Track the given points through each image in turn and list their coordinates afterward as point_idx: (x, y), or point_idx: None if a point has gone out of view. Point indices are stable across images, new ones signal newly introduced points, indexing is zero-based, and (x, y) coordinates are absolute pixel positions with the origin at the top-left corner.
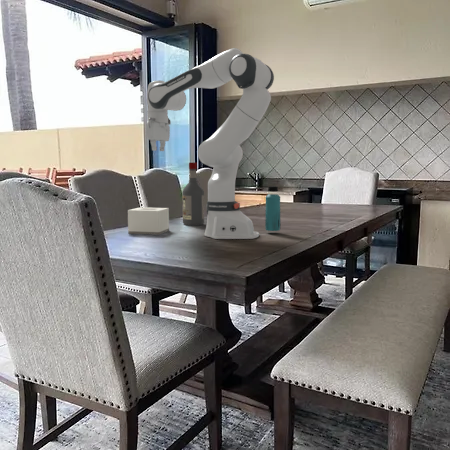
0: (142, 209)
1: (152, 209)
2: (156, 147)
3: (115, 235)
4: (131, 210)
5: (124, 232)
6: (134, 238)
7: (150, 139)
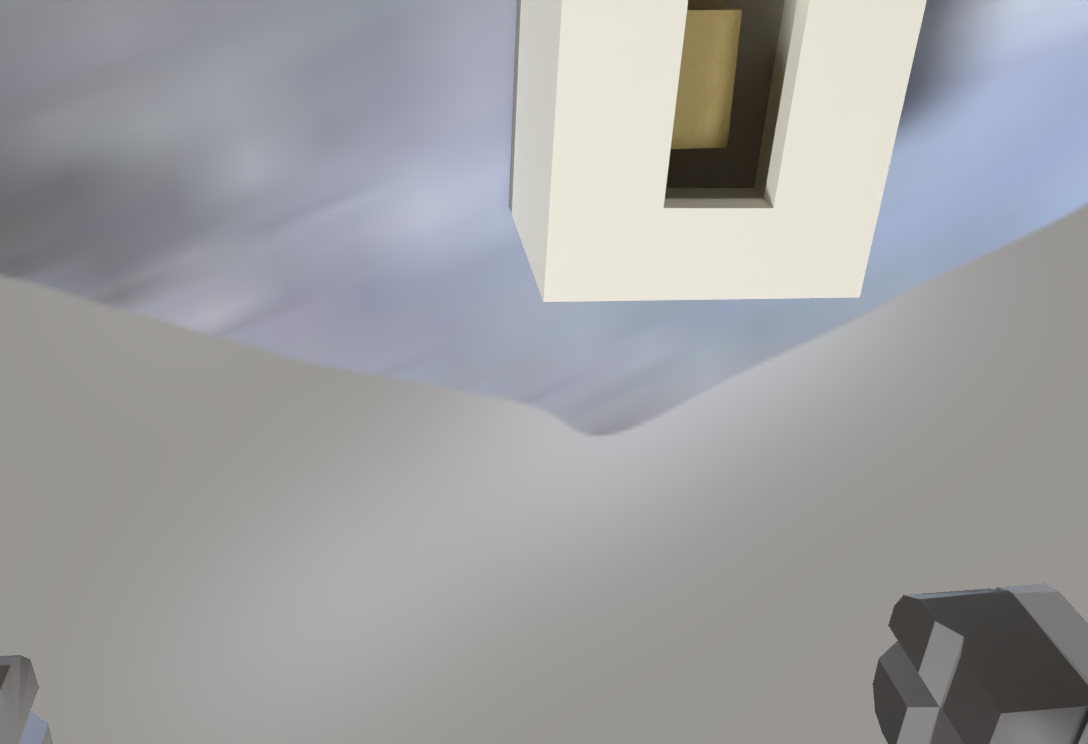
0: (672, 204)
1: (677, 73)
2: (1020, 671)
3: None
4: (868, 252)
5: None
6: (1031, 40)
7: None
